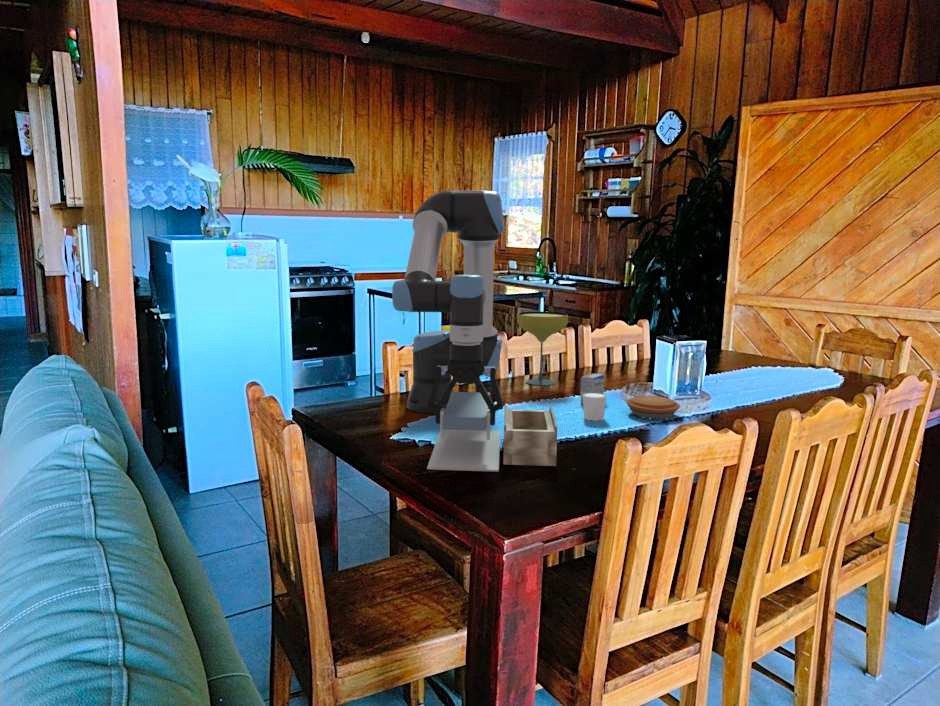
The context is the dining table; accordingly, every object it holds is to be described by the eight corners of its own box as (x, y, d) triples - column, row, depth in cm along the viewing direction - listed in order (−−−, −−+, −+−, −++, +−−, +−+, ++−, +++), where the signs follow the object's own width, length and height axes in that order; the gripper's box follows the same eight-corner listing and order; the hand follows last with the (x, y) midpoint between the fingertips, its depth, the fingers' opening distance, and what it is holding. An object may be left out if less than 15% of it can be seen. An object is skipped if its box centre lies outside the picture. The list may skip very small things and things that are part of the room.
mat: (427, 469, 153) (426, 467, 153) (440, 430, 184) (440, 428, 184) (498, 471, 152) (498, 469, 152) (500, 431, 183) (500, 430, 183)
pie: (619, 409, 211) (619, 393, 210) (668, 408, 212) (669, 393, 211) (634, 422, 196) (635, 405, 195) (687, 421, 197) (688, 405, 196)
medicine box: (592, 405, 215) (593, 378, 214) (579, 403, 218) (580, 376, 216) (603, 400, 221) (604, 374, 220) (591, 398, 224) (592, 372, 222)
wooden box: (503, 464, 157) (504, 425, 155) (503, 439, 176) (504, 404, 175) (556, 466, 156) (557, 426, 155) (550, 440, 176) (551, 405, 174)
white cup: (606, 416, 201) (607, 393, 200) (604, 422, 195) (605, 398, 193) (583, 414, 203) (584, 391, 202) (580, 420, 196) (581, 396, 195)
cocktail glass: (506, 380, 251) (507, 312, 247) (547, 376, 260) (549, 310, 256) (533, 390, 236) (535, 317, 232) (575, 385, 244) (578, 315, 240)
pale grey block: (442, 429, 156) (442, 416, 155) (451, 402, 181) (452, 391, 181) (486, 430, 155) (486, 417, 155) (489, 403, 181) (489, 392, 180)
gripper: (414, 344, 153) (414, 441, 156) (516, 346, 151) (514, 443, 155) (419, 339, 160) (418, 432, 163) (515, 341, 159) (513, 434, 162)
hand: (465, 437), depth 159 cm, fingers closed on pale grey block, 10 cm apart
